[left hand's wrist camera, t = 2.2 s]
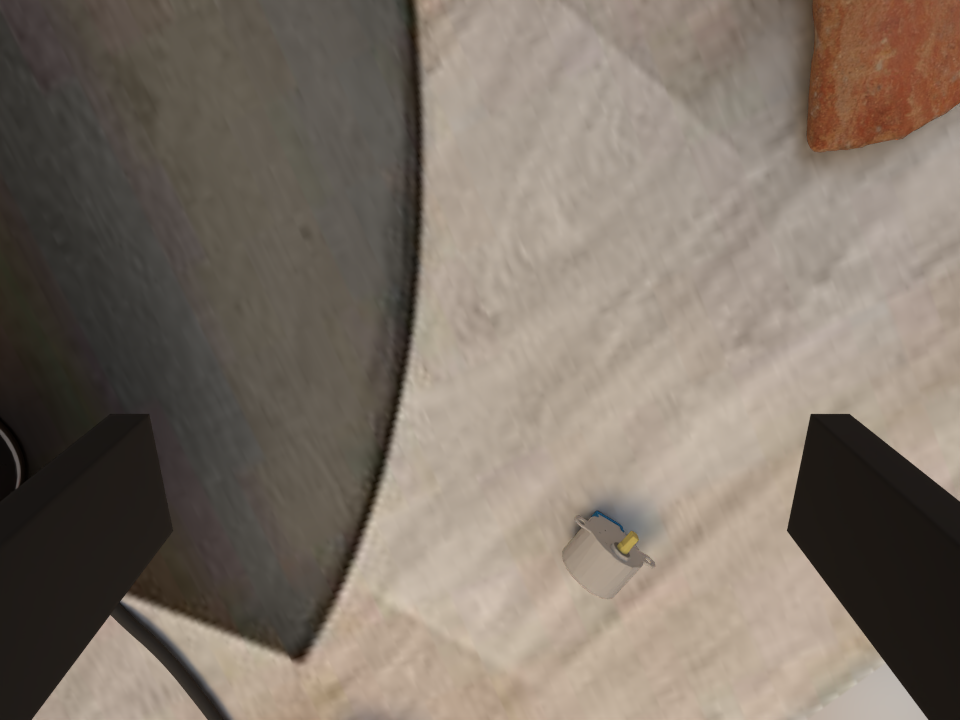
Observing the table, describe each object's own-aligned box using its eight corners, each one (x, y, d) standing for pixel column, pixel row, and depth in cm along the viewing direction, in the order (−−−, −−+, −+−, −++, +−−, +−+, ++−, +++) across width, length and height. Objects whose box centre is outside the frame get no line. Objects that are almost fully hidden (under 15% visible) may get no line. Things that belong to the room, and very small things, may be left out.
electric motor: (659, 524, 46) (680, 570, 42) (619, 569, 48) (634, 618, 43) (584, 479, 45) (596, 520, 40) (544, 526, 46) (551, 572, 42)
